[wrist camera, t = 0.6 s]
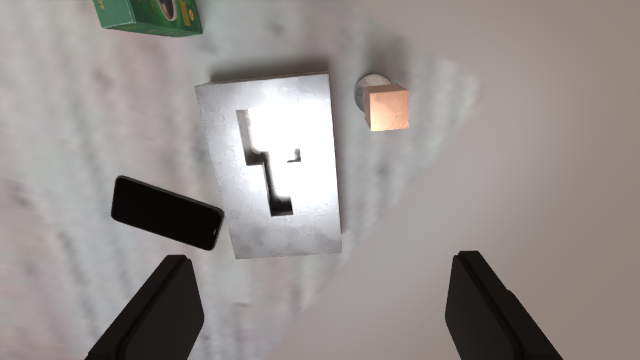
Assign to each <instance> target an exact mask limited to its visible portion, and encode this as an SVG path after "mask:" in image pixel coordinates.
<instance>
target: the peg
mask: <svg viewBox="0 0 640 360" xmlns="http://www.w3.org/2000/svg"><path fill="white" fill-rule="evenodd" d="M354 98H355V101H356V104H357V106H358V107H359V108H360V110H362V111H363V112H364V113H365V120H366V122H367V124H368V126H369V128H370V130H371V131H378V130H390V129H402V128H408V101H409V90H407V89H406V88H404V87H402V86H400V85H398V84H391V82H390V81H389V80H388V79H387V78H385V77H383V76H381V75H378V74H370V75H367V76H365V77H363V78H362V79H361V80H360V81H359V82H358V83H357V85H356V87H355V91H354Z"/></svg>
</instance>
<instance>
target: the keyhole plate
mask: <svg viewBox="0 0 640 360" xmlns="http://www.w3.org/2000/svg"><path fill="white" fill-rule="evenodd" d="M195 90H196V95H197V99H198V103H199V107H200V111H201V115H202V120H203V124H204V128H205V132H206V136H207V141H208V145H209V149H210V153H211V157H212V162H213V166H214V170H215V174H216V178H217V182H218V187H219V191H220V195H221V199H222V203H223V208H224V212H225V216H226V220H227V224H228V229H229V233H230V237H231V241H232V245H233V249H234V254H235V258H236V259H248V258H264V257H281V256H298V255H315V254H332V253H342V242H341V228H340V215H339V202H338V189H337V176H336V163H335V150H334V137H333V124H332V111H331V98H330V85H329V72H328V71H321V72H311V73H300V74H290V75H279V76H269V77H258V78H248V79H237V80H227V81H216V82H208V83H205V84H201V85H198V86H195Z"/></svg>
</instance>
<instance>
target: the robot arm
mask: <svg viewBox="0 0 640 360" xmlns="http://www.w3.org/2000/svg"><path fill="white" fill-rule="evenodd" d="M445 320H446V324H447V327H448V329H449V332H450V334H451V336H452V339H453V341H454V343H455V346H456V348H457V351H458V353H459V355H460V358H461V360H563V359H562V357H561V356H560V355H559V353H558V352H557V351H556V349H555V348H554V347H553V345H552V344H551V343H550V341H549V340H548V339H547V337H546V336H545V335H544V333H543V332H542V331H541V329H540V328H539V327H538V326H537V324H536V323H535V321H534V320H533V319H532V318H531V316H530V315H529V313H528V312H527V311H526V309H525V308H524V307H523V306H522V304H521V303H520V302H519V300H518V299H517V298H516V296H515V295H514V294H513V293H512V292H511V291H509V290H507V289H506V287H505V286H504V285H503V283H502V282H501V281H500V279H499V278H498V277H497V275H496V274H495V273H494V271H493V270H492V269H491V267H490V266H489V265H488V263H487V262H486V261H485V259H484V258H483V256H482V255H481V254H480V253H479V252H478V251H460V252H459V253H458V255H455V256H454V257H453V262H452V269H451V276H450V284H449V290H448V297H447V304H446V311H445ZM203 323H204V312H203V308H202V304H201V299H200V295H199V291H198V287H197V282H196V278H195V274H194V270H193V265H192V262H191V260H190V259H187V257H186V256H185V255H167V256H166V257H165V258H164V260H163V261H162V262H161V263H160V264H159V266H158V267H157V268H156V269H155V271H154V272H153V273H152V274H151V276H150V277H149V278H148V279H147V281H146V282H145V283H144V284H143V286H142V287H141V288H140V289H139V290H138V292H137V293H136V294H135V295H134V297H133V298H132V299H131V300H130V302H129V303H128V304H127V305H126V307H125V308H124V309H123V310H122V312H121V313H120V314H119V315H118V316H117V318H116V319H115V320H114V321H113V323H112V324H111V325H110V326H109V328H108V329H107V330H106V331H105V333H104V334H103V335H102V336H101V338H100V339H99V340H98V341H97V342H96V344H95V345H94V346H93V347H92V349H91V350H90V351H89V352H88V356H87V357H86V358H85V359H84V360H187V358H188V356H189V354H190V352H191V350H192V348H193V345H194V343H195V341H196V339H197V337H198V335H199V333H200V331H201V328H202V326H203Z"/></svg>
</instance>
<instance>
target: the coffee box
mask: <svg viewBox="0 0 640 360" xmlns="http://www.w3.org/2000/svg"><path fill="white" fill-rule="evenodd" d="M92 1H93V4H94V7H95V9H96V12H97V15H98V18H99V21H100V23H101V26H102V28H105V29H114V30H121V31H128V32H136V33H144V34H152V35H160V36H170V37H187V36H193V35H199V34H202V31H201V27H200V23H199V18H198V14H197V11H196V7H195V4H194V0H92Z"/></svg>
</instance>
